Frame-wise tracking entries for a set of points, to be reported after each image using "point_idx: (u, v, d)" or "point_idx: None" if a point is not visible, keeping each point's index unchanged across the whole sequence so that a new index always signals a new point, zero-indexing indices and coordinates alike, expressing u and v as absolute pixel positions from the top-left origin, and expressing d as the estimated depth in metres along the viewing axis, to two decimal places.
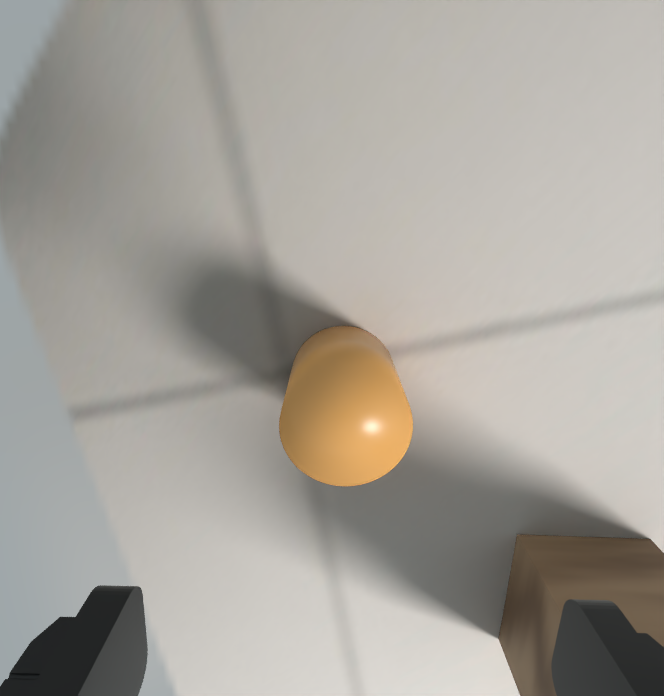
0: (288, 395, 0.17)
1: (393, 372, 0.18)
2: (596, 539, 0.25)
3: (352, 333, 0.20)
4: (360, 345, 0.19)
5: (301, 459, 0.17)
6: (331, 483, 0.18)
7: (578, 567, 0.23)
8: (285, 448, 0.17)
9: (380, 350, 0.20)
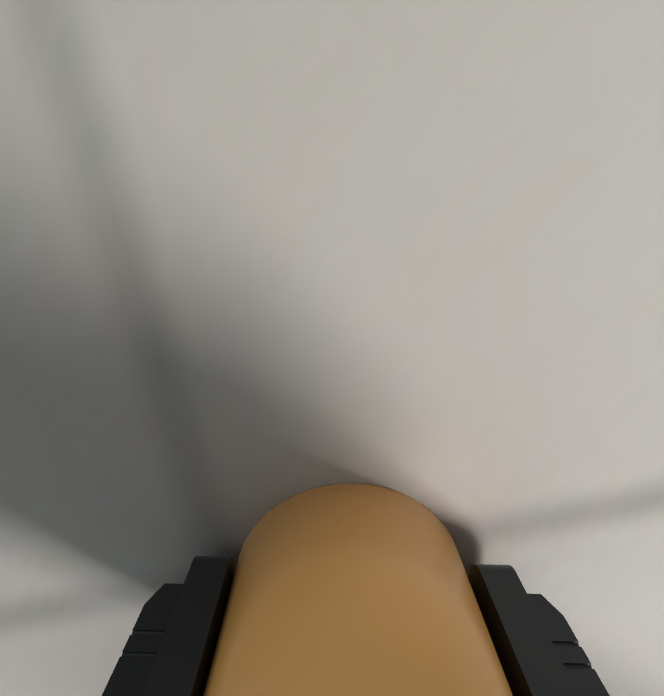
0: None
1: None
2: None
3: (374, 523, 0.08)
4: (403, 602, 0.07)
5: None
6: None
7: None
8: None
9: (449, 583, 0.08)
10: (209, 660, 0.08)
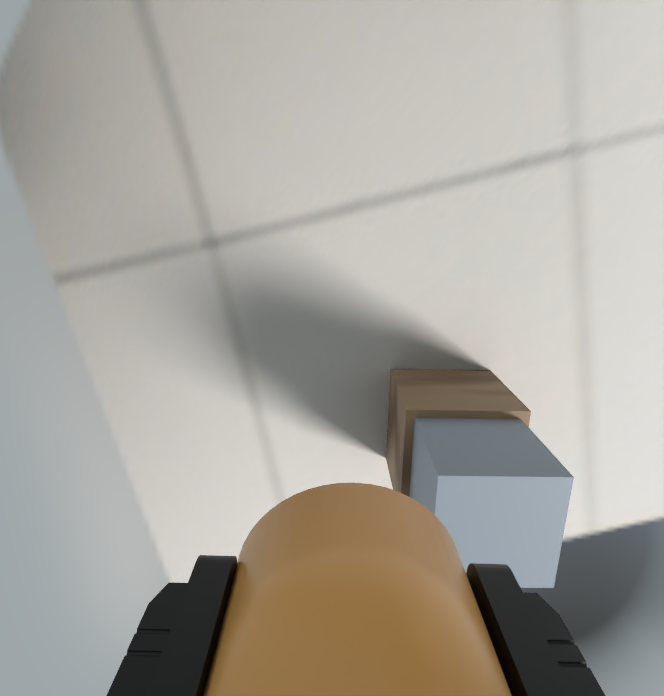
0: None
1: None
2: (449, 370, 0.33)
3: (374, 523, 0.08)
4: (403, 602, 0.07)
5: None
6: None
7: (426, 380, 0.31)
8: None
9: (448, 583, 0.08)
10: None
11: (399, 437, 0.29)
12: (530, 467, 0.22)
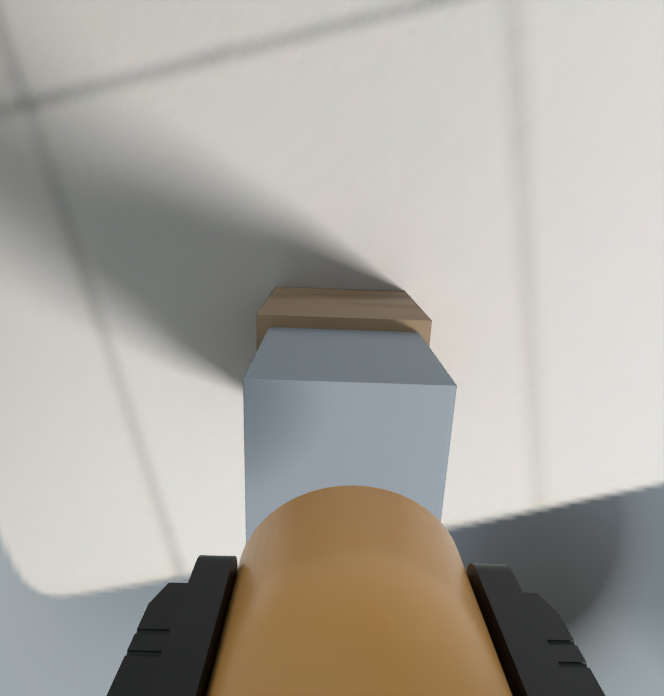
0: None
1: None
2: (351, 290, 0.25)
3: (375, 526, 0.08)
4: (405, 606, 0.07)
5: None
6: None
7: (313, 295, 0.23)
8: None
9: (450, 586, 0.08)
10: (214, 659, 0.08)
11: None
12: (397, 374, 0.14)
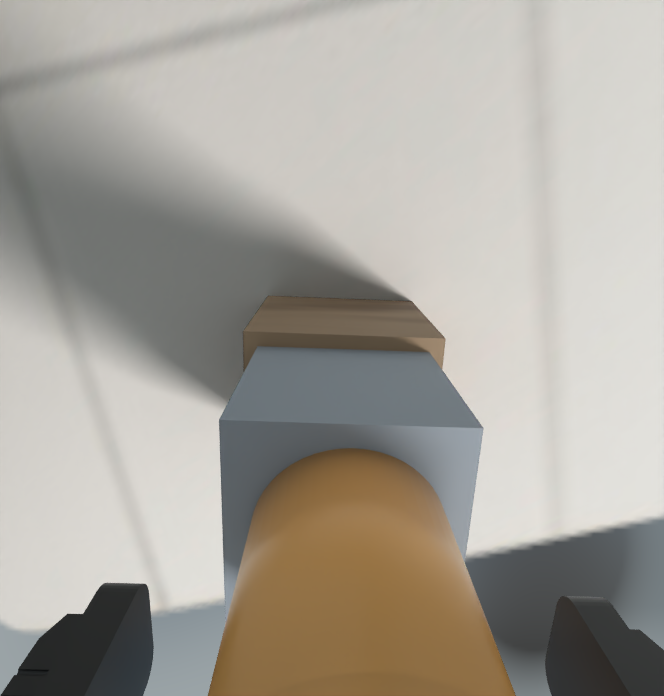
0: None
1: (477, 616, 0.07)
2: (352, 299, 0.23)
3: (371, 478, 0.10)
4: (394, 534, 0.08)
5: None
6: None
7: (309, 306, 0.21)
8: None
9: (433, 525, 0.09)
10: None
11: None
12: (408, 412, 0.11)
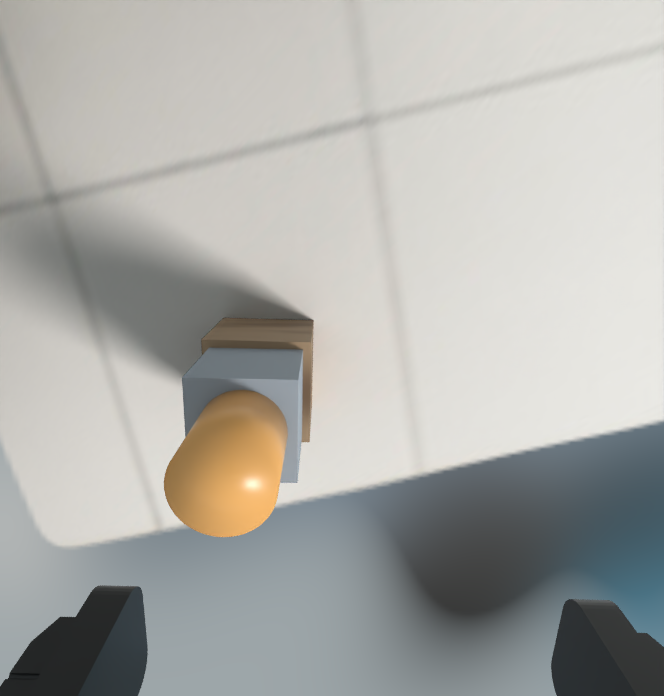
0: (169, 463, 0.20)
1: (267, 436, 0.21)
2: (275, 319, 0.37)
3: (242, 398, 0.23)
4: (242, 412, 0.22)
5: (186, 516, 0.20)
6: (213, 535, 0.21)
7: (246, 324, 0.35)
8: (171, 507, 0.20)
9: (264, 414, 0.23)
10: None
11: None
12: (269, 374, 0.25)
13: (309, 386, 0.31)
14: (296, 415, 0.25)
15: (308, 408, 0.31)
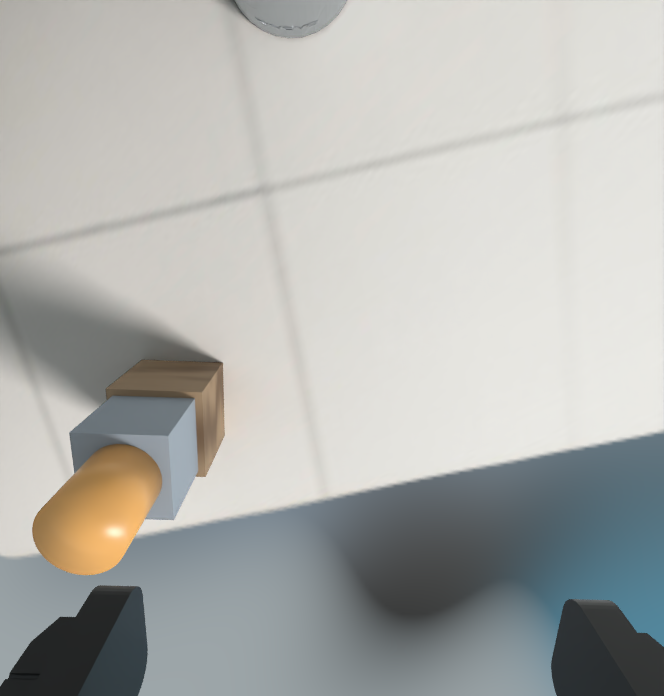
0: (36, 516, 0.24)
1: (124, 492, 0.26)
2: (188, 362, 0.41)
3: (115, 454, 0.28)
4: (107, 470, 0.26)
5: (53, 558, 0.25)
6: (77, 573, 0.25)
7: (157, 369, 0.39)
8: (40, 551, 0.25)
9: (130, 469, 0.27)
10: None
11: None
12: (146, 429, 0.30)
13: (202, 429, 0.35)
14: (168, 464, 0.29)
15: (202, 448, 0.36)
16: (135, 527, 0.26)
